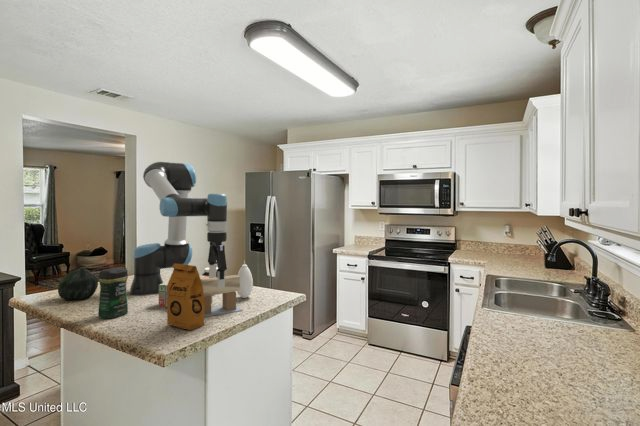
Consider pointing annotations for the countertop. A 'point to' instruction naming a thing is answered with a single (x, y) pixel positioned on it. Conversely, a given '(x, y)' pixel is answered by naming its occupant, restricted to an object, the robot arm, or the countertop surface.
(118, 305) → the coffee jar
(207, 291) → the bar
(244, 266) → the sauce bottle
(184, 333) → the countertop surface
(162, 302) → the stack of blocks
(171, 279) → the coffee package
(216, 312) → the build board
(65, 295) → the squash
